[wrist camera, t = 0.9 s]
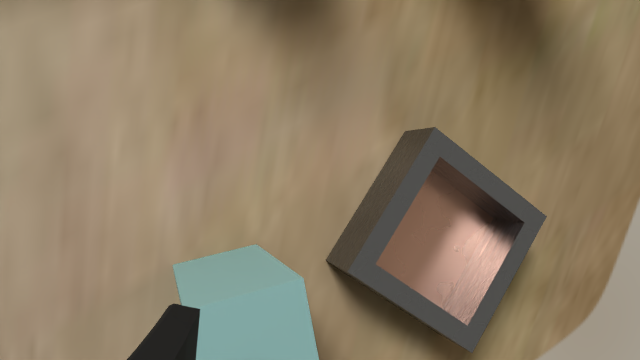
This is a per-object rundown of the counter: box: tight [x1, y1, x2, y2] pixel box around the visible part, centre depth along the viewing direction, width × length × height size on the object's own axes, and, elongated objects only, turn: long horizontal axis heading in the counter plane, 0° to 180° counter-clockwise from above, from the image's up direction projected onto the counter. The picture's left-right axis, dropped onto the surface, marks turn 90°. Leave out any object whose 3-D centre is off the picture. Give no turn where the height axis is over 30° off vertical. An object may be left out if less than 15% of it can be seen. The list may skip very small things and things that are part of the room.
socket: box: [326, 127, 547, 353], centre depth 26 cm, size 8×8×3 cm
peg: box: [173, 244, 319, 360], centre depth 21 cm, size 4×4×8 cm
